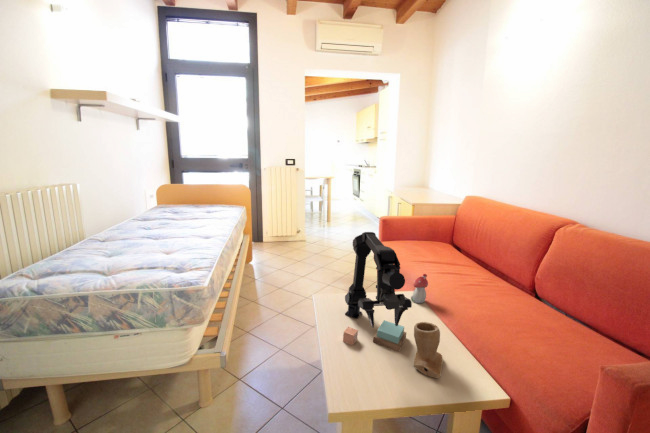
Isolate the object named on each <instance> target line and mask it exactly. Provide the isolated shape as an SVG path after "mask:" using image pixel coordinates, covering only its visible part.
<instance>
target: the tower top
mask: <svg viewBox="0 0 650 433" xmlns="http://www.w3.org/2000/svg"><path fill="white" fill-rule="evenodd" d="M376 332H377V337H379V338H382V339H385V340H388V341H391V342H394V343H397V344H398V343H399V341H400V339H401V337H402V335H403V333H404V332H405V326H403V325H400V324H398V326H395V322H392V321H391V322H390V321H388V320H385V319H384V320H383V321H382V323H381V324H380V325H379V327H378V328H377V330H376Z"/></svg>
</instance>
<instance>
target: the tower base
mask: <svg viewBox="0 0 650 433" xmlns="http://www.w3.org/2000/svg"><path fill="white" fill-rule="evenodd" d="M406 337H407V332H406V331H404V333H403V335H402V337H401V339H400V341H399V343H398V344H397V343H394V342H391V341H388V340H385V339H382V338H379V337H377V331H376V332H375V333H374V335H373V337H372V338H373V339H372V342H373V343H375V344H376V345H380V346H383V347H386V348H388V349H391V350H394V351H397V352H400V350H401V348H402V346H403V344H404V343H405V339H406Z"/></svg>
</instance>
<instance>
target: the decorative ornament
mask: <svg viewBox="0 0 650 433" xmlns="http://www.w3.org/2000/svg"><path fill="white" fill-rule="evenodd" d="M427 277H428V275H427V274H426V273H423V274H422V276H418V277H416V278H415V279H414V282H413V284H412V285H413V287H414V290H413V292H412V295H411V296H410V300H411V302H412V303H415V304H422V303H424V302H425V301H426V299H427V291H426V289H425V288H427V287H428V286H429V282H428V279H427Z"/></svg>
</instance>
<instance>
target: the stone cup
mask: <svg viewBox="0 0 650 433" xmlns="http://www.w3.org/2000/svg"><path fill="white" fill-rule="evenodd" d="M413 338H414V341H415V344H416V345H415V346H416V350H417V351H416V352H415V355H414V359H413V360H414V361H413V367H414V368H415V369H416V370H418V371H419V372H420V373H421V374H423V375H425V376H427V377H430V378H434V379H435V378H436V379H439V378H441V374H442V368H443V355H442V353H440V352H438V349H439V348H438V347H439V345H440V341H441V331H440V328H439V326H438V325H437V324H434V323H433V322H427V321H420V322H417V323H415V325H414V327H413Z"/></svg>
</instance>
